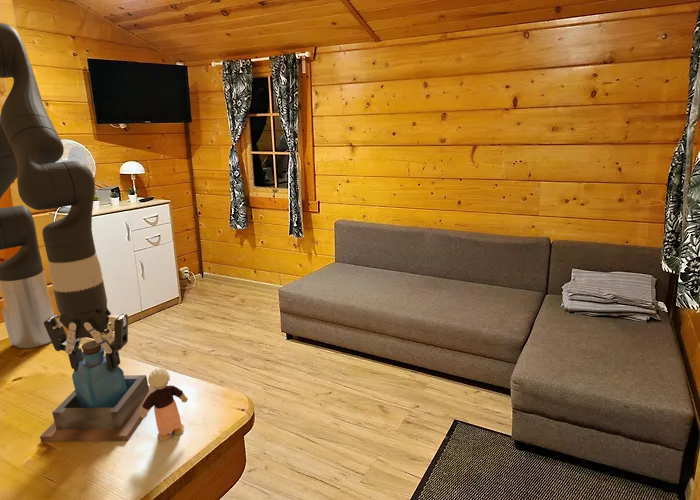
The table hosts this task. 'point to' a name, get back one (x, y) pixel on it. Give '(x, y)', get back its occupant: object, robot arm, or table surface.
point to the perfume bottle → (97, 379)
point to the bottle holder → (100, 416)
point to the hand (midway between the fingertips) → (96, 369)
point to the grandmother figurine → (164, 404)
